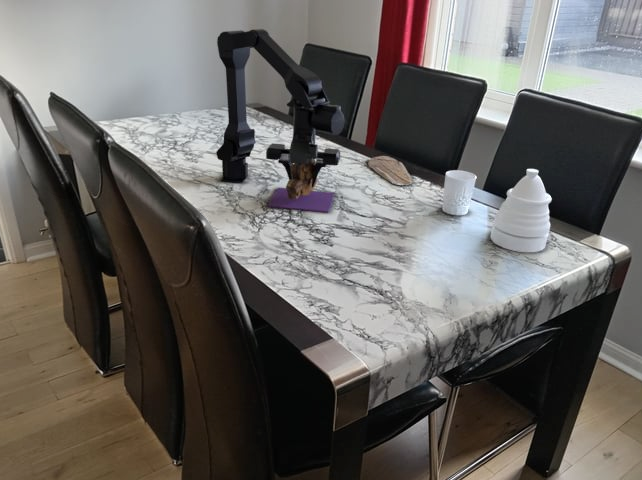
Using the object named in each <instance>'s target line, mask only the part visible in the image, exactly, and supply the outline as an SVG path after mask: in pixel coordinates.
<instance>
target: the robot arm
mask: <svg viewBox="0 0 642 480" xmlns="http://www.w3.org/2000/svg"><path fill="white" fill-rule="evenodd" d="M216 45H217V51H218V56H219V59H220V60H221V62H222V64H223V65H224V67H225V78H226V96H227V97H226V98H227V115H228V116H227V117H228V123H227V126H226V128H225V130H224V132H223V142H222V145H221V146H220V147H219V148H218V149H217V150H216V151H215V154H216V158H217V160H219V161H221V168H222V169H221V171H222V172H221V173H222V177H221V178H220V182H229V183H230V182H231V183H238V184H239V183H240V184H242V183H244V182H245V180H246V179H247V178H248V177H249V163H248V162H247V158H250V157H251V153H252V151H253V150H254V148H255V144H257V142H256V136H255V135H256V130H255V129H254V128H251V127H250V125H249V124H248V121H247V118H248V117H247V95H246V94H247V93H246V73H245V71H246V70H245V69H246V66H247V63H248V61H249V59H250V56H251V49H254V50H255V51H256V52H257V53H258V54H259V55H260V57H262V58H263V59H264V60H265V61H266V62H267V63H268V64H269V66H271V67H272V69H273V70H275V72H276V73H278V74H279V76H280V77H281V78H282V80H283V81H284V86H285V88H286V90H287V91H288V92H289V94H290V95H291V97H292V99H291V100H290V101H289V102H287V103H286V106H287V107H288V108H293V123H292V124H293V125H292V140H291V142H290V147H289V148H286V144H283V143H275V142H274V143H271V144H269V146H268V147H267V148H266V151H265V159H266V160H271V161H272V160H273V161H277V162H278V164H281V165H282V166H283V167H284V169H285V171H286V175H287V178H288V181H289V180H290V179H293V177H292V173H291V170H292V165H293V164H294V163H301V164H308V163H309V159H315V165H314V173H313V179H312V187H314V184H315V181H316V179H318V176H319V174H320V171H321V170H322V169H323V168H326V167H327V166H334V167H335V166H338V165H339V163H340V161H341V151H340V150H339V149H338V148H329V147H328V148H327V147H326V148H324V151H319V147H318V144H316V134H317V133H316V132H321V133H325V134H330V135H334V136H339V134H341V133H342V131H343V129H344V127H345V122H346V118H345V115H344V113H343V112H342V111H341V108H342V107H341V105H338V104H334V105H332V104H330V103H331V102H330V100H329V97H328V96H327V94H326V91H325V90H324V87H323V85H322V83H323V82H322V80H321V78H320V77H319V76H318V75H317V74H316V73H315V72H313V71H311V70H310V69H308V68H306V67H303V66H302V65H300V64H298V63H297V62H296V61H295V60H294V59H293V58H292V57H291V56H290V55H289V54H288V53H287V52H286V51H285V50H284V49H283V48H282V47H281V45H279V44H278V43H277V42H276V40H275V39H273V38H272V37H271V36H270V34H269V32H268V31H267V30H265V29H264V28H256V29H255V28H254V29H250V30H248V31H247V30H246V31H244V30H239V29H238V30H226V31H222V32H220V34H219V35H218V36H217V39H216ZM314 188H315V187H314Z"/></svg>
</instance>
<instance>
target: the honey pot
mask: <svg viewBox="0 0 642 480" xmlns="http://www.w3.org/2000/svg"><path fill="white" fill-rule="evenodd" d="M525 173H526V175H524V176H523V177H522V178H521V179H520V180H519V181H518V182H517V183H516V184H515V185H514V187H512V188H509V189H508V190H507V191H506V196H507V197H506V199H505V200H504V201H502V203H501V206H500V207H499V209H498V211H497V213H495V216H494V218H493V219H494V220H493V223H492V227H491V232H490V240H491V242H493V243H494V244H495V245H497V246H499V247H501V248H503V249H506V250H509V251H512V252H513V251H514V252H519V253H539V252H541V251H543V250H544V249H545V248H546V245H547V242H548V237H549V233H550V229H551V222H550V219H551V217H550V209H549V204H551V203H552V200H553V198H552V197H551V195H550V194H549V193H547V191H546V188H545V186H544V183H543V180H542V179H541V177H540V176H539V169H536V168H527V169H526V172H525Z"/></svg>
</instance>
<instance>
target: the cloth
mask: <svg viewBox="0 0 642 480" xmlns="http://www.w3.org/2000/svg"><path fill="white" fill-rule="evenodd" d="M334 196H335V192H328V191H318V190H317V191H316V190H312V191H311V193H310V194H308V195H306V196H302V195H300V196H299V197H298V199H294V198H293V199H290V198H289V197H288V192H287V189H286V187H285V188H284V187H278V188H277V189H276V190H275V192H274V194H273V196H272V197H271V199H270V200H269V202H268V204H267V208H275V209H287V210H296V211H305V212H306V211H308V212H316V213H317V212H318V213H327V214H328V213H329V211H330V208H331V205H332V203H333V200H334Z"/></svg>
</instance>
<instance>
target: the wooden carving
mask: <svg viewBox="0 0 642 480" xmlns="http://www.w3.org/2000/svg"><path fill="white" fill-rule="evenodd" d="M315 163H316V159H309V163H308V164H301V163H293V165H292V170H291V173H292V177H293V179H290V180H289V179H288V181H287V183H286V184H285V185H286V187H285V188H286V189H287V192H288V197H289V198H290V199H293V198H294V199H298V197H299V196H300V195H302V196H306V195H308V194H310V193H311V191H314V189H315V188H316V185H317V183H318V179H319V178H317V179H316V181H315V184H314V187H312V179H313V173H314V165H315Z"/></svg>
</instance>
